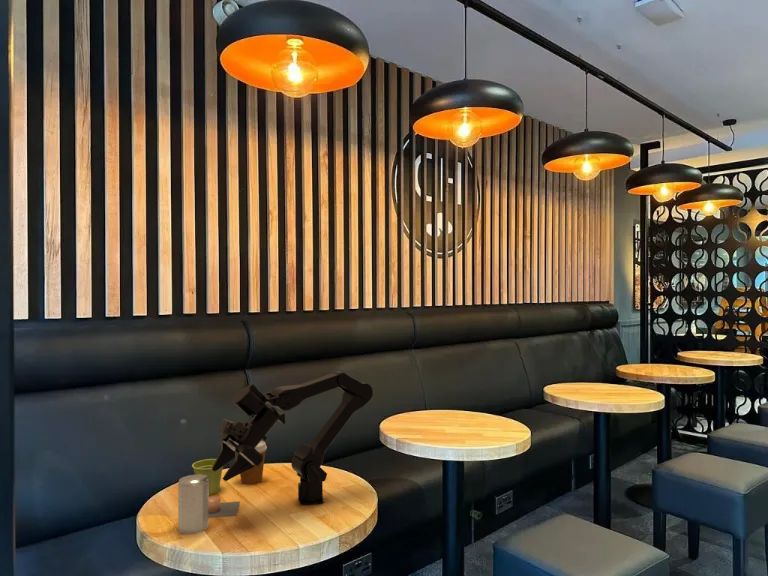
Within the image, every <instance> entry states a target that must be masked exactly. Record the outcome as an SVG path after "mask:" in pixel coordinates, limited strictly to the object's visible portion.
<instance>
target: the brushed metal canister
mask: <svg viewBox="0 0 768 576" xmlns="http://www.w3.org/2000/svg"><path fill="white" fill-rule="evenodd" d="M177 488H178V489H177V490H178V491H177V494H178V498H177V499H178V500H177V501H178V502H177V504H178V506H177V507H178V508H177V509H178V511H177V512H178V513H177V516H178V517H177V523H178V524H177V525H178V526H177V527H178V528H177V530H178V532H179V533H180V534H186V535H188V534H189V535H190V534H197V533H198V534H199V533H201V532H204V531H205V530H207V529H208V527H209V525H210V521H209V519H210V518H209V497H210V495H209V479H208V476H206V475H200V474H198V475H195V474H190V475H189V474H188V475H186V476H183V477H181V478H179V480H178V484H177Z"/></svg>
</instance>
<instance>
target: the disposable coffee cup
mask: <svg viewBox="0 0 768 576" xmlns="http://www.w3.org/2000/svg"><path fill="white" fill-rule="evenodd" d="M267 448H268V447H267V445H266V442H265V441H264V440H261V442H260V443H259V444H258V445H257V446H256V448H255V449H256V450H257V451H258V452H259V453H260V454H261V455H262V456H263V462H262V463H261V464H260V465H259V467H257V466H256V465H255V464H253V465H254V466H255V468H251V469H249V470H247V471H245V472H243V473H241V474H239V475H240V482H241V484H242V485H256V484H259V483H262V482H263V473H264V464H265V457H266V451H267ZM239 453H240V454H241V452H239Z"/></svg>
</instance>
